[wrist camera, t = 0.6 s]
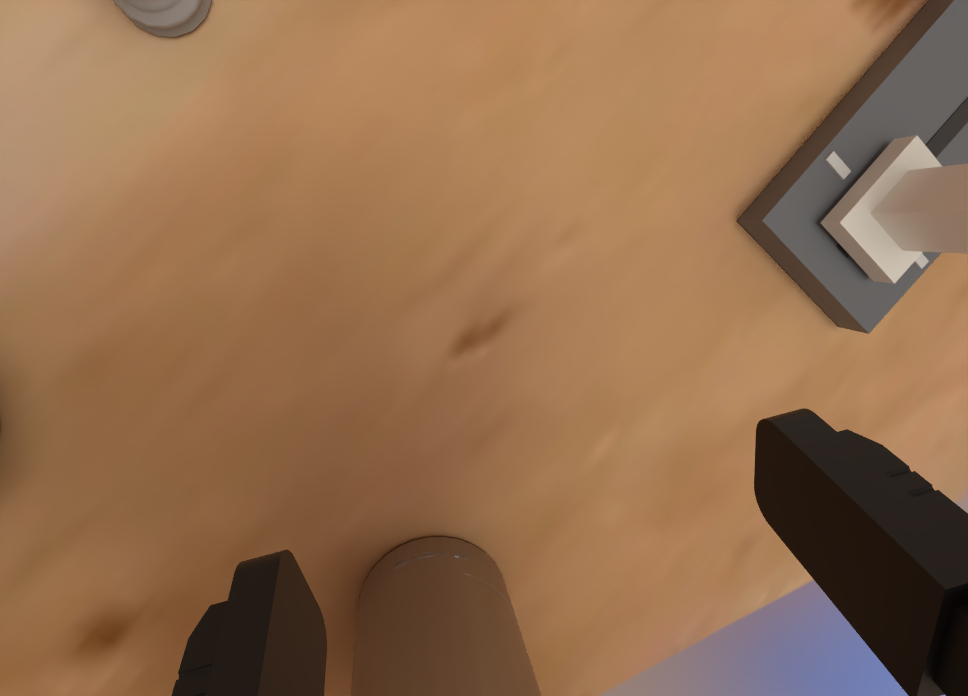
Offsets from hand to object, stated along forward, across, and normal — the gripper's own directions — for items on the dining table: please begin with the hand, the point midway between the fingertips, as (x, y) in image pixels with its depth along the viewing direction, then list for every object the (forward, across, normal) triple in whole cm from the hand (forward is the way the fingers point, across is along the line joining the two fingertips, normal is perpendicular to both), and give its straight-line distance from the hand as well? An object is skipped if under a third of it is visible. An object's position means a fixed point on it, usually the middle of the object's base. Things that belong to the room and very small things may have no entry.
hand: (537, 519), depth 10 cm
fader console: (+26, +30, -4) cm, 40 cm away
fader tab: (+22, +25, -7) cm, 34 cm away
